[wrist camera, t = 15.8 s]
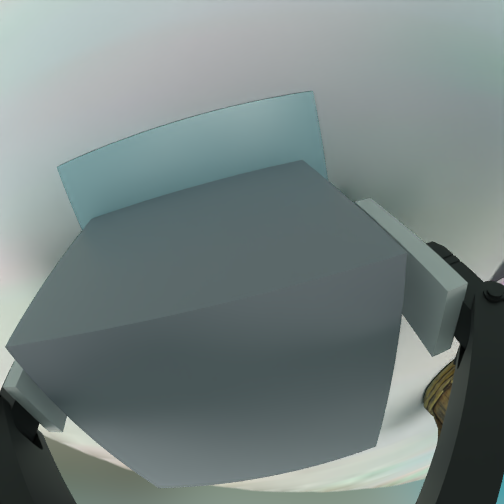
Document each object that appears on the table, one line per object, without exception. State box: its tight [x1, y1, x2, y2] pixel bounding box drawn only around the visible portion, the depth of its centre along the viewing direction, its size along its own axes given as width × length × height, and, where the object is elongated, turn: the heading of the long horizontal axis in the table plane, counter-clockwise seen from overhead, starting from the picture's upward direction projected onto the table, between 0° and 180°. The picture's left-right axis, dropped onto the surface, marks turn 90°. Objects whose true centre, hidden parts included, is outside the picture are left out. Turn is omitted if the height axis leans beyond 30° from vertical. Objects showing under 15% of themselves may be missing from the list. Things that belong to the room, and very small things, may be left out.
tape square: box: [57, 91, 328, 230], centre depth 15 cm, size 12×12×1 cm
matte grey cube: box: [5, 160, 407, 488], centre depth 12 cm, size 10×10×9 cm
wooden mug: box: [424, 361, 456, 443], centre depth 19 cm, size 9×14×18 cm, turn 127°
